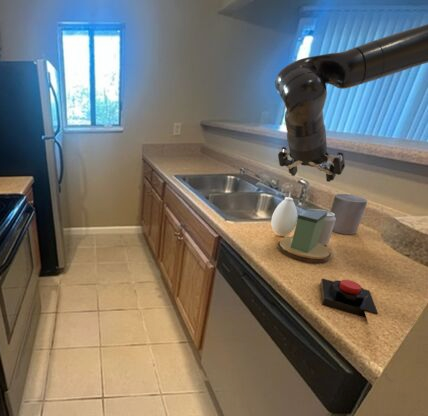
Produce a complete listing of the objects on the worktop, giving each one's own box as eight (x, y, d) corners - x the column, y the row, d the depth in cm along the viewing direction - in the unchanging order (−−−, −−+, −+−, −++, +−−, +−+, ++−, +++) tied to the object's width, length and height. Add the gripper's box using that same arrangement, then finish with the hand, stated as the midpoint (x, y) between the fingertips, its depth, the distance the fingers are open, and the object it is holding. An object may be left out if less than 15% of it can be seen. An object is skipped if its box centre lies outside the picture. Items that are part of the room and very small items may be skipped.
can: (313, 236, 105) (321, 207, 101) (333, 245, 99) (343, 214, 94) (297, 239, 104) (305, 209, 99) (317, 248, 97) (326, 217, 93)
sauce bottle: (284, 230, 110) (294, 188, 104) (296, 239, 103) (308, 194, 97) (264, 230, 111) (273, 188, 104) (275, 239, 103) (286, 194, 97)
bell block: (366, 297, 73) (371, 284, 71) (374, 320, 65) (380, 307, 64) (319, 284, 78) (323, 272, 77) (322, 305, 70) (326, 292, 69)
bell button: (357, 288, 71) (360, 282, 70) (360, 296, 68) (362, 291, 67) (338, 283, 73) (340, 277, 72) (339, 291, 70) (341, 285, 69)
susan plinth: (327, 248, 97) (328, 244, 96) (331, 269, 85) (333, 264, 84) (278, 238, 104) (279, 234, 104) (275, 255, 93) (276, 251, 92)
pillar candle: (321, 223, 116) (330, 190, 110) (348, 225, 113) (359, 191, 108) (332, 233, 107) (344, 197, 102) (362, 236, 105) (375, 199, 99)
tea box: (335, 249, 93) (346, 214, 88) (320, 263, 85) (332, 226, 80) (289, 235, 103) (297, 203, 99) (272, 246, 96) (280, 212, 91)
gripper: (349, 128, 62) (349, 169, 73) (281, 125, 73) (289, 161, 84) (335, 154, 61) (336, 192, 72) (268, 147, 72) (278, 181, 83)
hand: (311, 176), depth 78 cm, fingers open, 8 cm apart
